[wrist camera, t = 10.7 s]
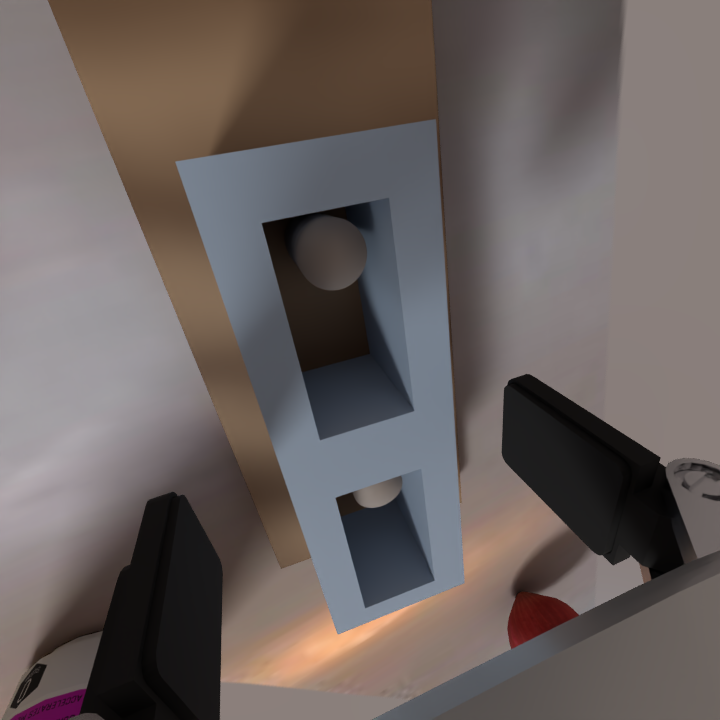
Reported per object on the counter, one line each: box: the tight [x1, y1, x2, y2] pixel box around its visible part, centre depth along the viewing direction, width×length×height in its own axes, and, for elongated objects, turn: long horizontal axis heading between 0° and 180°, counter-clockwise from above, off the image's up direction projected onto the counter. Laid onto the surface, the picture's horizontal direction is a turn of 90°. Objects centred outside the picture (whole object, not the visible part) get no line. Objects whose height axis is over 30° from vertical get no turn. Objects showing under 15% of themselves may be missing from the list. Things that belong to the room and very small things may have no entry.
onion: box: [507, 592, 579, 649], centre depth 28 cm, size 6×6×8 cm
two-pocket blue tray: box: [175, 119, 464, 634], centre depth 14 cm, size 18×6×5 cm, turn 10°
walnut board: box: [48, 0, 462, 569], centre depth 15 cm, size 24×11×6 cm, turn 10°
